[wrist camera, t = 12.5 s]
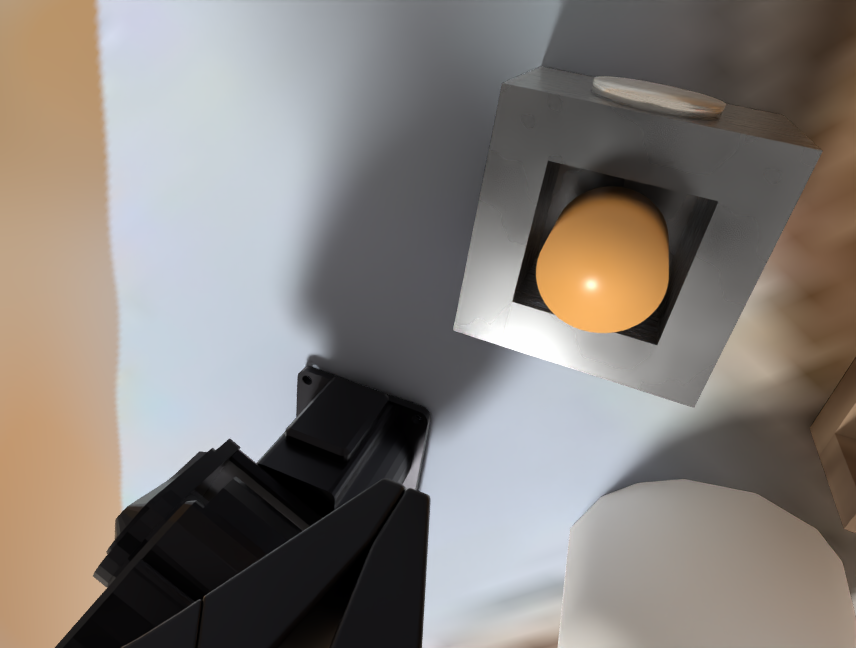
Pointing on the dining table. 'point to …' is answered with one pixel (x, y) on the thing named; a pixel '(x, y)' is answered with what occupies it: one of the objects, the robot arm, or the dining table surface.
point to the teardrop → (701, 574)
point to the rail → (840, 446)
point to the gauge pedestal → (652, 177)
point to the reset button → (605, 261)
